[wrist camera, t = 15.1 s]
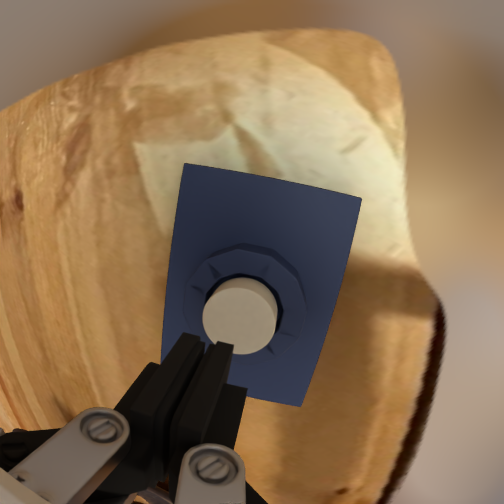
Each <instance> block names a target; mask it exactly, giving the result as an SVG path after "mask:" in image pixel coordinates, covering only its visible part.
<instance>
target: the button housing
mask: <svg viewBox="0 0 504 504" xmlns="http://www.w3.org/2000/svg"><path fill="white" fill-rule="evenodd" d="M361 201H362V198H359V197H356V196H351V195H347V194H343V193H339V192H335V191H331V190H326V189H322V188H318V187H313V186H309V185H304V184H299V183H295V182H290V181H285V180H280V179H275V178H270V177H265V176H260V175H254V174H249V173H243V172H238V171H232V170H226V169H220V168H214V167H208V166H201V165H195V164H188V163H184V167H183V173H182V178H181V184H180V190H179V196H178V203H177V209H176V216H175V223H174V230H173V237H172V244H171V252H170V260H169V269H168V278H167V287H166V297H165V308H164V319H163V332H162V346H161V363H162V362H163V360H164V359H165V357H166V356H167V354H168V353H169V352H170V350H171V349H172V347H173V346H174V344H175V343H176V342H177V340H178V339H179V337H180V336H181V334H182V333H183V332H186V333H190V334H193V335H197V336H200V339H201V340H200V341H203V342H205V352H206V350H207V348H208V346H209V344H210V343H211V344H214V343H213V342H212V341H211V340H210V338H209V337H208V335H207V334H206V332H205V329H204V326H203V319H202V316H203V310H204V307H205V305H206V303H207V301H208V300H209V299H210V297H211V296H212V295H213V293H214V292H215V291H216V289H217V288H218V287H219V286H220V285H221V284H223V283H224V282H226V281H228V280H230V279H233V278H240V277H243V278H250V279H254V280H256V281H259V282H260V283H262V284H263V285H265V286H266V287H267V288H268V289H269V290H270V291H271V293H272V294H273V296H274V298H275V300H276V303H277V320H276V327H275V332H274V335H273V337H272V339H271V340H270V341H269V343H268V344H267V345H266V346H264V347H263V348H262V349H260V350H258V351H256V352H253V353H250V354H234V353H233V355H232V360H231V365H230V370H229V375H228V381H227V384H232V385H236V386H240V387H245V388H248V390H247V395H246V396H247V397H252V398H256V399H261V400H266V401H271V402H276V403H281V404H287V405H292V406H298V407H301V405H302V403H303V400H304V397H305V395H306V392H307V389H308V387H309V384H310V381H311V378H312V375H313V373H314V370H315V367H316V364H317V361H318V358H319V355H320V352H321V349H322V346H323V343H324V340H325V337H326V334H327V331H328V327H329V324H330V321H331V318H332V314H333V311H334V308H335V304H336V301H337V297H338V294H339V290H340V287H341V283H342V280H343V276H344V272H345V268H346V265H347V261H348V257H349V253H350V249H351V245H352V241H353V237H354V233H355V228H356V224H357V220H358V215H359V211H360V206H361ZM205 352H204V354H205ZM161 363H160V364H161Z"/></svg>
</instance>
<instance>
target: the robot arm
mask: <svg viewBox="0 0 504 504" xmlns="http://www.w3.org/2000/svg"><path fill="white" fill-rule="evenodd" d="M200 340H201V339H200V336H197V335H193V334H190V333H186V332H183V333H182V334H181V336H180V337H179V339H178V340H177V342H176V343H175V344H174V346H173V347H172V349H171V350H170V352H169V353H168V354H167V356H166V357H165V359H164V360H163V362H162V363H161V364H160V365H159V364H156V363H153V362H150V363H149V364H148V365H147V366H146V367H145V368H144V370H143V371H142V372H141V374H140V375H139V376H138V378H137V379H136V380H135V381H134V383H133V384H132V385H131V387H130V388H129V389H128V391H127V392H126V393H125V395H124V396H123V397H122V399H121V400H120V401H119V403H118V404H117V405H116V407H115V408H114V409H110V408H105V407H93V408H89V409H86V410H84V411H83V412H81V413H80V414H78V415H77V416H76V417H75V418H74V419H72V420H71V421H70V422H69V423H68V424H66V425H65V426H64V427H63V428H58V429H48V430H37V431H22V432H10V433H5V432H4V430H3V429H2V428H0V504H131V503H132V502H133V500H134V499H135V497H136V495H137V492H140V491H144V490H147V488H148V486H149V487H152V488H155V487H156V485H157V483H158V481H161V482H165V480H166V478H167V476H168V473H169V499H170V500H171V502H172V503H173V504H268V503H267V502H266V501H265V500H264V499H263V498H262V497H261V496H260V495H259V494H258V493H257V492H256V491H255V490H254V489H253V488H252V487H251V486H250V485H249V484H248V483H247V482H246V481H245V466H244V462H243V460H242V459H241V457H240V456H239V455H238V454H237V453H236V452H235V451H234V446H235V442H236V438H237V433H238V429H239V425H240V421H241V416H242V412H243V408H244V404H245V399H246V395H247V390H248V388H245V387H240V386H236V385H232V384H227V381H228V375H229V370H230V365H231V360H232V355H233V350H234V345H233V344H229V343H225V342H221V341H217V342H216V345H215V344H211V343H210V344H209V346H208V348H207V350H206V352H205V342H203V341H200ZM204 352H205V354H204Z"/></svg>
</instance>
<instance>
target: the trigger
mask: <svg viewBox="0 0 504 504" xmlns="http://www.w3.org/2000/svg"><path fill="white" fill-rule="evenodd" d="M202 319H203V326H204V329H205V332H206V334H207V335H208V337H209V338H210V340H211V341H212V342H213V343H214V344H215V345H216V342H217V341H221V342H225V343H229V344H233V345H234V350H233V353H234V354H250V353H253V352H256V351H258V350H260V349H262V348H263V347H264V346H266V345H267V344H268V343H269V341H270V340H271V339H272V337H273V335H274V332H275V327H276V320H277V303H276V300H275V298H274V296H273V294H272V293H271V291H270V290H269V289H268V288H267V287H266V286H265V285H263V284H262V283H260V282H259V281H256V280H254V279H250V278H243V277H240V278H233V279H230V280H228V281H226V282H224V283H223V284H221V285H220V286H219V287H218V288H217V289H216V291H215V292H214V293H213V295H212V296H211V297H210V299H209V300H208V301H207V303H206V305H205V307H204V310H203V316H202Z"/></svg>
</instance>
